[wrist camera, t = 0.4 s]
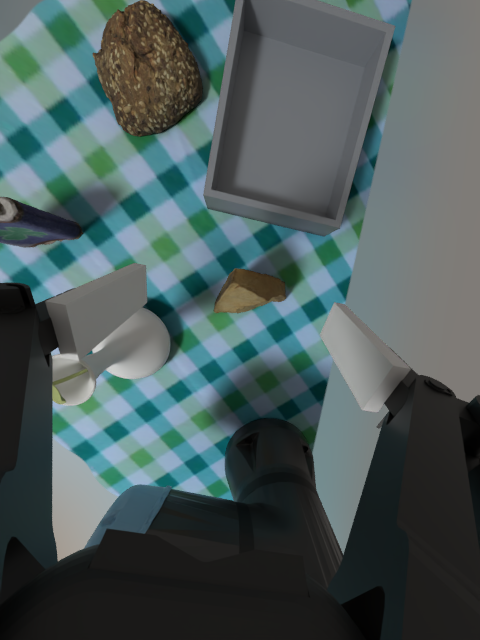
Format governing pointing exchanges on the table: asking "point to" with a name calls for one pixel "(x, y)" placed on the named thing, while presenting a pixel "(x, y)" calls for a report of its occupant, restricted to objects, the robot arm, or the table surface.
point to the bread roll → (147, 70)
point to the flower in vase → (113, 358)
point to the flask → (33, 225)
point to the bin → (294, 111)
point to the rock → (248, 291)
